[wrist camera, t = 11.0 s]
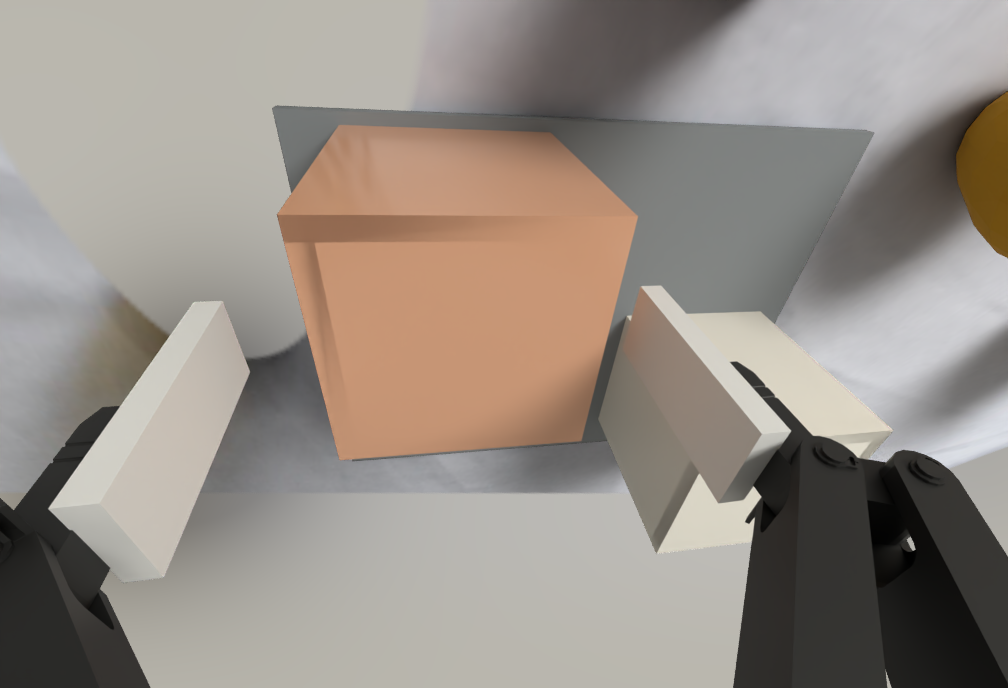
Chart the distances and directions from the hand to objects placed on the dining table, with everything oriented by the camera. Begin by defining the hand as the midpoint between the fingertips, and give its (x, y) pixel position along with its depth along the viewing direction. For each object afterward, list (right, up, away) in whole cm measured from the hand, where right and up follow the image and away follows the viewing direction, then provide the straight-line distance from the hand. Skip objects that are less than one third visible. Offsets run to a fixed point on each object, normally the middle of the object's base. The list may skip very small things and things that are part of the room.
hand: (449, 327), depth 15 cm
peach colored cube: (-1, +5, +7) cm, 9 cm away
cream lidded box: (+13, -2, +15) cm, 20 cm away
